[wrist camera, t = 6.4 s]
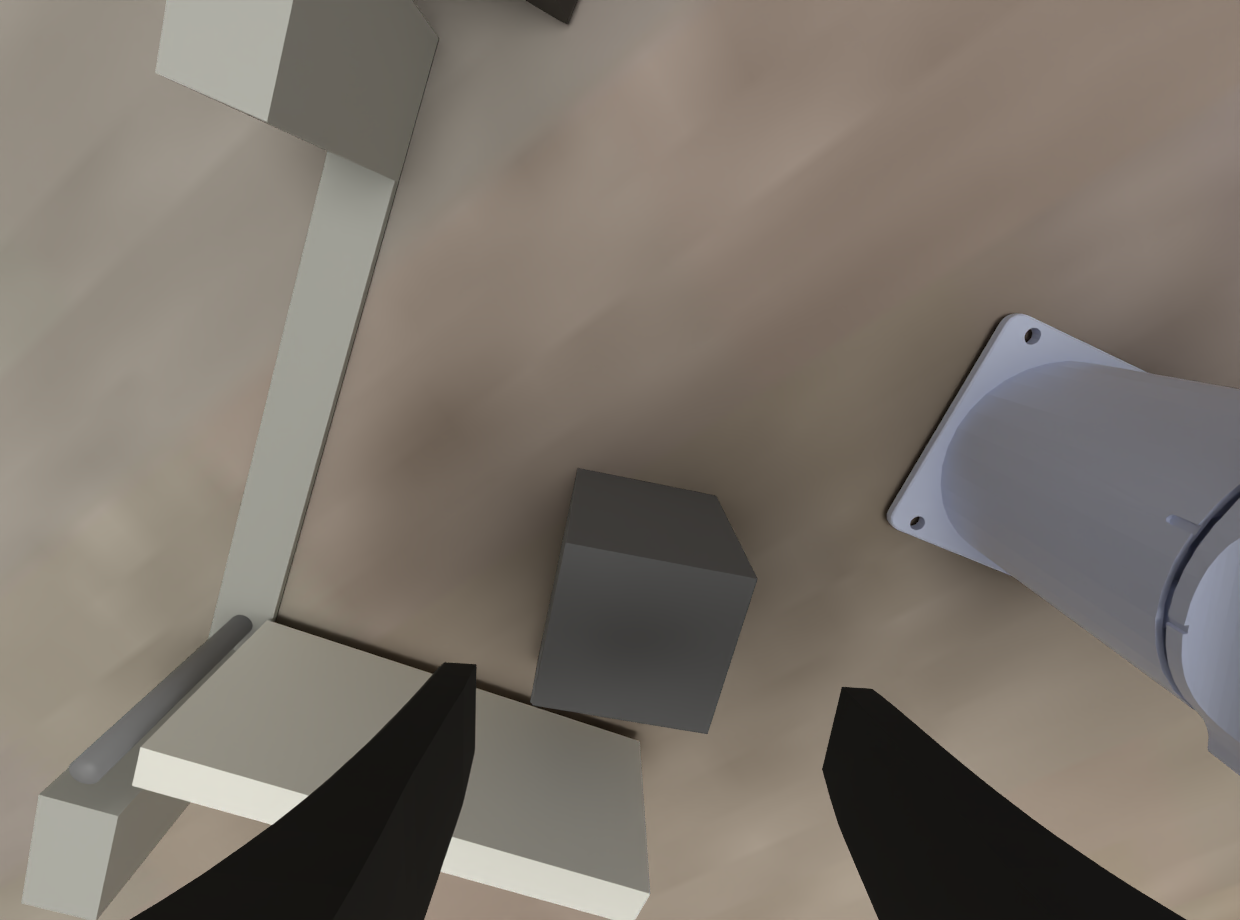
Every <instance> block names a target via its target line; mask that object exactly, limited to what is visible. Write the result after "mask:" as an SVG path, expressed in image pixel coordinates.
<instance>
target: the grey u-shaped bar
mask: <svg viewBox="0 0 1240 920" xmlns="http://www.w3.org/2000/svg"><path fill="white" fill-rule="evenodd" d="M438 39H439V38H438V36H437V35H436V34H435V32H434V31H433V29H432V28H431V26H430V25H429V24H428V22H427V21H426V19H425V18H424V16H423V15H422V14H421V12H420V11H419V9H418V8H417V6H416V5H415V4H414V2H413V1H412V0H167V2H166V8H165V14H164V20H163V27H162V33H161V39H160V45H159V51H158V58H157V64H156V70H155V73H157V74H159V75H161V76H163V77H165V78H168V79H170V80H172V81H174V82H176V83H179V84H181V85H183V86H185V87H187V88H190V89H192V90H194V91H196V92H198V93H201V94H203V95H205V96H207V97H209V98H212V99H214V100H216V101H218V102H220V103H223V104H225V105H227V106H229V107H231V108H234V109H236V110H238V111H240V112H242V113H245V114H247V115H249V116H251V117H253V118H256V119H258V120H260V121H262V122H264V123H267V124H269V125H271V126H273V127H276V128H278V129H280V130H282V131H284V132H287V133H289V134H291V135H293V136H295V137H298V138H300V139H302V140H304V141H306V142H309V143H311V144H313V145H315V146H317V147H320V148H322V149H324V150H326V151H327V156H326V160H325V164H324V168H323V172H322V176H321V180H320V184H319V188H318V192H317V196H316V201H315V205H314V209H313V213H312V217H311V221H310V225H309V229H308V233H307V237H306V241H305V245H304V250H303V254H302V258H301V262H300V266H299V270H298V274H297V278H296V282H295V286H294V290H293V295H292V299H291V303H290V307H289V311H288V315H287V319H286V323H285V327H284V331H283V335H282V339H281V344H280V348H279V352H278V356H277V360H276V364H275V368H274V372H273V376H272V380H271V384H270V389H269V393H268V397H267V401H266V405H265V409H264V413H263V417H262V421H261V425H260V429H259V434H258V438H257V442H256V446H255V450H254V454H253V458H252V462H251V466H250V470H249V474H248V478H247V483H246V487H245V491H244V495H243V499H242V503H241V507H240V511H239V515H238V519H237V523H236V528H235V532H234V536H233V540H232V544H231V548H230V552H229V556H228V560H227V564H226V568H225V572H224V577H223V581H222V585H221V589H220V593H219V597H218V601H217V605H216V609H215V613H214V617H213V622H212V626H211V630H210V634H209V638H208V640H207V641H206V642H205V643H204V644H203V645H201V646H200V647H199V648H198V649H197V650H196V651H195V652H194V653H193V654H192V655H190V656H189V657H188V658H187V659H186V660H185V661H184V662H183V663H182V664H180V665H179V666H178V667H177V668H176V669H175V670H174V671H173V672H172V673H170V674H169V675H168V676H167V677H166V678H165V679H164V680H163V681H162V682H161V683H159V684H158V685H157V686H156V687H155V688H154V689H153V690H152V691H151V692H149V693H148V694H147V695H146V696H145V697H144V698H143V699H142V700H141V701H140V702H138V703H137V704H136V705H135V706H134V707H133V708H132V709H131V710H130V711H128V712H127V713H126V714H125V715H124V716H123V717H122V718H121V719H120V720H118V721H117V722H116V723H115V724H114V725H113V726H112V727H111V728H110V729H109V730H107V731H106V732H105V733H104V734H103V735H102V736H101V737H100V738H99V739H97V740H96V741H95V742H94V743H93V744H92V745H91V746H90V747H89V748H87V749H86V750H85V751H84V752H83V753H82V754H81V755H80V756H79V757H78V758H76V759H75V760H74V761H73V762H72V763H71V764H70V766H69V768H68V769H67V770H66V771H64V772H63V773H62V774H61V775H60V776H59V777H58V778H57V779H56V780H55V781H53V782H52V783H51V784H50V785H49V786H48V787H47V788H46V789H45V790H44V791H42V792H41V793H40V794H39V797H38V803H37V810H36V816H35V822H34V828H33V834H32V841H31V847H30V853H29V859H28V866H27V872H26V878H25V884H24V890H23V897H22V904H26V905H31V906H35V907H39V908H43V909H47V910H51V911H55V912H59V913H63V914H67V915H71V916H75V917H79V918H83V919H87V920H97V919H98V918H99V917H100V915H101V914H102V913H103V912H104V910H105V909H106V908H107V907H108V905H109V904H110V903H111V902H112V900H113V899H114V898H115V897H116V895H117V894H118V893H119V891H120V890H121V889H122V888H123V886H124V885H125V884H126V883H127V881H128V880H129V879H130V878H131V876H132V875H133V874H134V873H135V871H136V870H137V869H138V868H139V866H140V865H141V864H142V863H143V861H144V860H145V859H146V858H147V856H148V855H149V854H150V853H151V851H152V850H153V849H154V848H155V846H156V845H157V844H158V843H159V841H160V840H161V839H162V837H163V836H164V835H165V834H166V832H167V831H168V830H169V829H170V827H171V826H172V825H173V824H174V822H175V821H176V820H177V819H178V817H179V816H180V815H181V814H182V812H183V811H184V810H185V809H186V807H187V806H188V805H189V804H190V802H189V801H185V800H182V799H178V798H174V797H171V796H167V795H164V794H160V793H156V792H153V791H149V790H146V789H142V788H138V787H135V786H132V783H133V779H134V774H135V770H136V765H137V761H138V756H139V751H140V747H141V746H142V745H143V744H144V743H145V742H146V741H147V740H148V739H149V738H150V737H151V736H152V735H153V734H154V733H155V732H156V731H157V730H158V729H159V728H160V727H161V726H162V725H163V724H164V723H165V722H166V721H167V720H168V719H169V718H170V717H171V716H172V715H173V714H174V713H175V712H176V711H177V710H178V709H179V708H180V707H181V706H182V705H183V704H184V703H185V702H186V701H187V700H188V699H189V698H190V697H191V696H192V695H193V694H194V693H195V692H196V691H197V690H198V689H199V688H200V687H201V686H202V685H203V684H204V683H205V682H206V681H207V680H208V679H209V678H210V677H211V676H212V675H213V674H214V673H215V672H216V671H217V670H218V669H219V668H220V667H221V666H222V665H223V664H224V663H225V662H226V661H227V660H228V659H229V658H230V657H231V656H232V655H233V654H234V653H235V652H236V651H237V650H238V649H239V648H240V647H241V646H242V645H243V644H244V643H245V642H246V641H247V640H248V639H249V638H250V637H251V636H252V635H253V634H254V633H255V632H256V631H257V630H258V629H259V628H260V627H261V626H262V625H263V624H264V623H265V622H266V621H267V620H269V621H272V622H275V620H276V617H277V613H278V609H279V606H280V602H281V599H282V595H283V592H284V588H285V584H286V581H287V577H288V574H289V570H290V567H291V563H292V559H293V556H294V552H295V549H296V545H297V542H298V538H299V535H300V531H301V527H302V524H303V520H304V517H305V513H306V510H307V506H308V502H309V499H310V495H311V492H312V488H313V485H314V481H315V478H316V474H317V470H318V467H319V463H320V460H321V456H322V453H323V449H324V445H325V442H326V438H327V435H328V431H329V428H330V424H331V421H332V417H333V413H334V410H335V406H336V403H337V399H338V396H339V392H340V388H341V385H342V381H343V378H344V374H345V371H346V367H347V364H348V360H349V356H350V353H351V349H352V346H353V342H354V339H355V335H356V331H357V328H358V324H359V321H360V317H361V314H362V310H363V306H364V303H365V299H366V296H367V292H368V289H369V285H370V282H371V278H372V274H373V271H374V267H375V264H376V260H377V257H378V253H379V249H380V246H381V242H382V239H383V235H384V232H385V228H386V225H387V221H388V217H389V214H390V210H391V207H392V203H393V200H394V196H395V192H396V189H397V185H398V182H399V178H400V175H401V171H402V168H403V164H404V160H405V157H406V153H407V150H408V146H409V143H410V139H411V135H412V132H413V128H414V125H415V121H416V118H417V114H418V111H419V107H420V103H421V100H422V96H423V93H424V89H425V86H426V82H427V78H428V75H429V71H430V68H431V64H432V61H433V57H434V53H435V50H436V46H437V43H438Z"/></svg>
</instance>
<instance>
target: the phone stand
mask: <svg viewBox="0 0 1240 920" xmlns="http://www.w3.org/2000/svg"><path fill="white" fill-rule="evenodd" d="M526 1H528V2H529V3H531V4H533V5H534V6H536V7H538V8H539V9H541V10H543V11H544V12H546V13H548V14H549V15H551V16H553V17H555V18H556V19H558V20H560V21H562V22H565V23H568V22H569V19H570V17H571V14H572V12H573V9H574V7H575V5H576V2H577V0H526Z"/></svg>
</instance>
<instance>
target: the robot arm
mask: <svg viewBox="0 0 1240 920" xmlns="http://www.w3.org/2000/svg"><path fill="white" fill-rule="evenodd" d="M1029 329H1031V330H1032V337H1031V339H1030V340H1029V341H1028V342H1025V339H1024V336H1025V333H1026V332H1027V331H1028V330H1029ZM917 516H919V521H918V522H917V523H916V524H915V525H912V526H911V525H910V522H911V520H912V519H913V518H914V517H917ZM887 520H888V522H889V524H890V525H892V526H893V527H894V528H895V529H897V530H899V531H902V532H904V533H907V534H909V535H911V536H914V537H916V538H919V539H921V540H924V541H926V542H929V543H931V544H934V545H936V546H939V547H941V548H944V549H946V550H949V551H951V552H953V553H956V554H958V555H961V556H963V557H966V558H968V559H971V560H973V561H976V562H978V563H981V564H983V565H986V566H988V567H991V568H993V569H995V570H998V571H1000V572H1003V573H1005V574H1008V575H1010V576H1013V577H1014V578H1016V579H1017V580H1018V581H1020V582H1021V583H1022V584H1024V585H1025V586H1026V587H1028V588H1029V589H1031V590H1032V591H1033V592H1035V593H1036V594H1037V595H1039V596H1040V597H1041V598H1043V599H1044V600H1046V601H1047V602H1048V603H1050V604H1051V605H1052V606H1054V607H1055V608H1056V609H1058V610H1059V611H1060V612H1062V613H1063V614H1065V615H1066V616H1067V617H1069V618H1070V619H1071V620H1073V621H1074V622H1075V623H1077V624H1078V625H1079V626H1081V627H1082V628H1084V629H1085V630H1086V631H1088V632H1089V633H1090V634H1092V635H1093V636H1094V637H1096V638H1097V639H1099V640H1100V641H1101V642H1103V643H1104V644H1105V645H1107V646H1108V647H1109V648H1111V649H1112V650H1113V651H1115V652H1116V653H1118V654H1119V655H1120V656H1122V657H1123V658H1124V659H1126V660H1127V661H1128V662H1130V663H1131V664H1132V665H1134V666H1135V667H1137V668H1138V669H1139V670H1141V671H1142V672H1143V673H1145V674H1146V675H1147V676H1149V677H1150V678H1152V679H1153V680H1154V681H1156V682H1157V683H1158V684H1160V685H1161V686H1162V687H1164V688H1165V689H1166V690H1168V691H1169V692H1171V693H1172V694H1173V695H1175V696H1176V697H1177V698H1179V699H1180V700H1181V701H1183V702H1184V703H1186V704H1187V705H1188V706H1190V707H1191V708H1192V709H1194V710H1196V711H1197V712H1198V714H1199V715H1200V716H1201V717H1202V718H1203V720H1204V721H1205V724H1206V726H1207V730H1208V734H1209V739H1208V751H1209V752H1210V753H1212V754H1213V755H1214V756H1215V757H1217V758H1218V759H1219V760H1220V761H1222V762H1223V763H1224V764H1226V765H1227V766H1228V767H1229V768H1231V769H1232V770H1233V771H1234V772H1236V773H1237V774H1238V775H1240V389H1237V388H1232V387H1226V386H1220V385H1214V384H1209V383H1203V382H1197V381H1192V380H1186V379H1180V378H1174V377H1169V376H1163V375H1157V374H1152V373H1148V372H1145V371H1143V370H1141V369H1139V368H1137V367H1135V366H1133V365H1131V364H1129V363H1127V362H1125V361H1122V360H1120V359H1118V358H1116V357H1114V356H1112V355H1110V354H1108V353H1106V352H1104V351H1102V350H1100V349H1097V348H1095V347H1093V346H1091V345H1089V344H1087V343H1085V342H1083V341H1081V340H1079V339H1077V338H1074V337H1072V336H1070V335H1068V334H1066V333H1064V332H1062V331H1060V330H1058V329H1056V328H1054V327H1052V326H1049V325H1047V324H1045V323H1043V322H1041V321H1039V320H1037V319H1035V318H1033V317H1031V316H1029V315H1025V314H1018V313H1014V314H1009V315H1008V316H1006V317H1004V318H1003V319H1002V321H1001V322H1000V323H999V325H998V326H997V328H996V330H995V331H994V333H993V335H992V336H991V338H990V340H989V342H988V343H987V345H986V347H985V348H984V350H983V352H982V353H981V355H980V357H979V358H978V360H977V362H976V363H975V365H974V367H973V368H972V370H971V372H970V373H969V375H968V377H967V378H966V380H965V382H964V384H963V385H962V387H961V389H960V390H959V392H958V394H957V395H956V397H955V399H954V400H953V402H952V404H951V405H950V407H949V409H948V410H947V412H946V414H945V415H944V417H943V419H942V421H941V422H940V424H939V426H938V427H937V429H936V431H935V432H934V434H933V436H932V437H931V439H930V441H929V442H928V444H927V446H926V447H925V449H924V451H923V452H922V454H921V456H920V458H919V459H918V461H917V463H916V464H915V466H914V468H913V469H912V471H911V473H910V474H909V476H908V478H907V479H906V481H905V483H904V484H903V486H902V488H901V489H900V491H899V493H898V494H897V496H896V498H895V500H894V501H893V503H892V505H891V506H890V508H889V510H888V512H887ZM475 727H476V664H460V663H444V664H442V665H441V666H440V667H439V668H438V669H437V670H436V671H435V672H434V673H433V674H432V676H431V677H430V678H429V679H428V680H427V681H426V682H425V683H424V685H423V686H422V687H421V688H420V689H419V690H418V691H417V692H416V693H415V695H414V696H413V697H412V698H411V699H410V700H409V701H408V702H407V703H406V704H405V705H404V706H403V707H402V708H401V710H400V711H399V712H398V713H397V714H396V715H395V716H394V717H393V718H392V719H391V720H390V721H389V722H388V723H387V724H386V725H385V726H384V727H383V728H382V729H381V730H380V731H379V732H378V733H377V734H376V735H375V736H374V737H373V738H372V739H371V740H370V741H369V742H368V743H367V744H366V745H365V746H364V747H363V748H361V749H360V750H359V751H358V752H357V753H356V754H355V755H354V756H353V757H352V758H351V759H349V760H348V761H347V762H346V763H345V764H344V765H343V766H342V767H341V768H340V769H339V770H338V771H336V772H335V773H334V774H333V775H332V776H331V777H330V778H329V779H328V780H326V781H325V782H324V783H323V784H322V785H321V786H319V787H318V788H317V789H316V790H315V791H314V792H312V793H311V794H310V795H309V796H308V797H306V798H305V799H304V800H303V801H302V802H300V803H299V804H298V805H297V806H295V807H294V808H293V809H291V810H290V811H289V812H288V813H286V814H285V815H284V816H283V817H281V818H280V819H279V820H278V821H276V822H275V823H274V824H272V825H271V826H270V827H268V828H267V829H266V830H264V831H263V832H262V833H260V834H259V835H257V836H256V837H255V838H253V839H252V840H251V841H249V842H248V843H247V844H245V845H244V846H242V847H241V848H239V849H238V850H237V851H235V852H234V853H232V854H231V855H230V856H228V857H227V858H225V859H224V860H222V861H221V862H220V863H218V864H217V865H215V866H214V867H212V868H211V869H210V870H208V871H207V872H205V873H204V874H202V875H201V876H199V877H198V878H196V879H194V880H193V881H191V882H190V883H188V884H187V885H185V886H184V887H182V888H180V889H179V890H177V891H176V892H174V893H173V894H171V895H169V896H168V897H166V898H165V899H163V900H161V901H160V902H158V903H157V904H155V905H153V906H152V907H150V908H148V909H147V910H145V911H143V912H142V913H140V914H138V915H137V916H135V917H133V918H132V919H130V920H424V918H425V915H426V912H427V909H428V906H429V903H430V901H431V898H432V895H433V892H434V889H435V886H436V883H437V880H438V877H439V874H440V871H441V868H442V865H443V862H444V859H445V856H446V854H447V851H448V848H449V845H450V842H451V839H452V836H453V833H454V830H455V827H456V824H457V821H458V818H459V815H460V812H461V809H462V806H463V802H464V797H465V793H466V789H467V785H468V780H469V776H470V771H471V767H472V762H473V758H474V753H475ZM822 770H823V774H824V777H825V781H826V784H827V788H828V792H829V795H830V799H831V802H832V805H833V809H834V812H835V815H836V818H837V821H838V824H839V827H840V829H841V832H842V834H843V837H844V839H845V842H846V844H847V846H848V849H849V851H850V853H851V856H852V858H853V861H854V863H855V865H856V868H857V870H858V872H859V875H860V877H861V879H862V882H863V884H864V886H865V889H866V891H867V893H868V896H869V898H870V900H871V903H872V905H873V907H874V910H875V912H876V914H877V917H878V919H879V920H1186V919H1184V918H1183V917H1181V916H1179V915H1178V914H1176V913H1174V912H1173V911H1171V910H1170V909H1168V908H1166V907H1165V906H1163V905H1161V904H1160V903H1158V902H1156V901H1155V900H1153V899H1152V898H1150V897H1148V896H1147V895H1145V894H1143V893H1142V892H1140V891H1138V890H1137V889H1135V888H1133V887H1132V886H1130V885H1129V884H1127V883H1126V882H1124V881H1123V880H1121V879H1119V878H1118V877H1116V876H1115V875H1113V874H1112V873H1110V872H1109V871H1107V870H1105V869H1104V868H1102V867H1101V866H1099V865H1098V864H1097V863H1095V862H1094V861H1092V860H1091V859H1089V858H1088V857H1086V856H1085V855H1083V854H1082V853H1080V852H1079V851H1077V850H1076V849H1075V848H1073V847H1072V846H1070V845H1069V844H1067V843H1066V842H1064V841H1063V840H1061V839H1060V838H1058V837H1057V836H1056V835H1054V834H1053V833H1051V832H1050V831H1049V830H1047V829H1046V828H1044V827H1043V826H1042V825H1040V824H1039V823H1038V822H1036V821H1035V820H1033V819H1032V818H1031V817H1030V816H1028V815H1027V814H1026V813H1024V812H1023V811H1022V810H1020V809H1019V808H1018V807H1016V806H1015V805H1014V804H1012V803H1011V802H1010V801H1009V800H1007V799H1006V798H1005V797H1003V796H1002V795H1001V794H999V793H998V792H997V791H995V790H994V789H993V788H992V787H990V786H989V785H988V784H987V783H985V782H984V781H983V780H982V779H980V778H979V777H978V776H977V775H975V774H974V773H973V772H972V771H971V770H969V769H968V768H967V767H966V766H964V765H963V764H962V763H961V762H960V761H958V760H957V759H956V758H955V757H954V756H952V755H951V754H950V753H949V752H948V751H946V750H945V749H944V748H943V747H942V746H940V745H939V744H938V743H937V742H936V741H935V740H933V739H932V738H931V737H930V736H929V735H927V734H926V733H925V732H924V731H923V730H922V729H920V728H919V727H918V726H917V725H916V724H915V723H913V722H912V721H911V720H910V719H909V718H907V717H906V716H905V715H904V714H903V713H902V712H900V711H899V710H898V709H897V708H896V707H894V706H893V705H892V704H891V703H890V702H888V701H887V700H886V699H885V698H883V697H882V696H881V695H880V694H878V693H877V692H876V691H874V690H873V689H866V688H849V687H842V689H841V693H840V697H839V702H838V706H837V710H836V714H835V718H834V722H833V727H832V731H831V735H830V739H829V743H828V747H827V752H826V756H825V760H824V764H823V768H822Z"/></svg>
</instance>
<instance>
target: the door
mask: <svg viewBox="0 0 1240 920" xmlns="http://www.w3.org/2000/svg"><path fill="white" fill-rule="evenodd" d="M431 676H432V673H429V672H425V671H422V670H419V669H416V668H413V667H410V666H407V665H404V664H401V663H398V662H395V661H392V660H389V659H385V658H382V657H379V656H376V655H373V654H370V653H367V652H364V651H361V650H358V649H355V648H352V647H349V646H346V645H342V644H339V643H336V642H333V641H330V640H327V639H324V638H321V637H318V636H315V635H312V634H309V633H306V632H302V631H299V630H296V629H293V628H290V627H287V626H284V625H281V624H278V623H275V622H272V621H269V620H267V621H266V622H265V623H264V624H263V625H262V626H261V627H260V628H259V629H258V630H257V631H256V632H255V633H254V634H253V635H252V636H251V637H250V638H249V639H248V640H247V641H246V642H245V643H244V644H243V645H242V646H241V647H240V648H239V649H238V650H237V651H236V652H235V653H234V654H233V655H232V656H231V657H230V658H229V659H228V660H227V661H226V662H225V663H224V664H223V665H222V666H221V667H220V668H219V669H218V670H217V671H216V672H215V673H214V674H213V675H212V676H211V677H210V678H209V679H208V680H207V681H206V682H205V683H204V684H203V685H202V686H201V687H200V688H199V689H198V690H197V691H196V692H195V693H194V694H193V695H192V696H191V697H190V698H189V699H188V700H187V701H186V702H185V703H184V704H183V705H182V706H181V707H180V708H179V709H178V710H177V711H176V712H175V713H174V714H173V715H172V716H171V717H170V718H169V719H168V720H167V721H166V722H165V723H164V724H163V725H162V726H161V727H160V728H159V729H158V730H157V731H156V732H155V733H154V734H153V735H152V736H151V737H150V738H149V739H148V740H147V741H146V742H145V743H144V744H143V745H142V746H141V747H140V751H139V756H138V761H137V765H136V770H135V774H134V779H133V783H132V786H135V787H138V788H142V789H146V790H149V791H153V792H156V793H160V794H164V795H167V796H171V797H174V798H178V799H182V800H185V801H189V802H192V803H196V804H199V805H203V806H207V807H210V808H214V809H217V810H221V811H225V812H228V813H232V814H235V815H239V816H243V817H246V818H250V819H253V820H257V821H260V822H264V823H268V824H271V825H272V824H274V823H275V822H276V821H278V820H279V819H280V818H281V817H283V816H284V815H285V814H286V813H288V812H289V811H290V810H291V809H293V808H294V807H295V806H297V805H298V804H299V803H300V802H302V801H303V800H304V799H305V798H306V797H308V796H309V795H310V794H311V793H312V792H314V791H315V790H316V789H317V788H318V787H319V786H321V785H322V784H323V783H324V782H325V781H326V780H328V779H329V778H330V777H331V776H332V775H333V774H334V773H335V772H336V771H338V770H339V769H340V768H341V767H342V766H343V765H344V764H345V763H346V762H347V761H348V760H349V759H351V758H352V757H353V756H354V755H355V754H356V753H357V752H358V751H359V750H360V749H361V748H363V747H364V746H365V745H366V744H367V743H368V742H369V741H370V740H371V739H372V738H373V737H374V736H375V735H376V734H377V733H378V732H379V731H380V730H381V729H382V728H383V727H384V726H385V725H386V724H387V723H388V722H389V721H390V720H391V719H392V718H393V717H394V716H395V715H396V714H397V713H398V712H399V711H400V710H401V708H402V707H403V706H404V705H405V704H406V703H407V702H408V701H409V700H410V699H411V698H412V697H413V696H414V695H415V693H416V692H417V691H418V690H419V689H420V688H421V687H422V686H423V685H424V683H425V682H426V681H427V680H428V679H429V678H430V677H431ZM440 872H444V873H447V874H451V875H454V876H458V877H462V878H465V879H469V880H472V881H476V882H479V883H483V884H487V885H490V886H494V887H497V888H501V889H505V890H508V891H512V892H515V893H519V894H523V895H526V896H530V897H533V898H537V899H541V900H544V901H548V902H551V903H555V904H558V905H562V906H566V907H569V908H573V909H576V910H580V911H584V912H587V913H591V914H594V915H598V916H602V917H605V918H609V919H612V920H635V919H636V917H637V916H638V914H639V912H640V910H641V909H642V907H643V905H644V904H645V902H646V900H647V899H648V897H649V895H650V883H649V868H648V854H647V839H646V825H645V810H644V796H643V782H642V767H641V753H640V741H638V740H634V739H631V738H628V737H625V736H622V735H619V734H616V733H613V732H610V731H607V730H604V729H601V728H598V727H595V726H591V725H588V724H585V723H582V722H579V721H576V720H573V719H570V718H567V717H564V716H561V715H558V714H555V713H551V712H548V711H545V710H542V709H539V708H536V707H533V706H530V705H527V704H524V703H521V702H518V701H515V700H512V699H508V698H505V697H502V696H499V695H496V694H493V693H490V692H487V691H484V690H481V689H478V688H476V727H475V753H474V758H473V762H472V767H471V771H470V776H469V780H468V785H467V789H466V793H465V797H464V802H463V806H462V809H461V812H460V815H459V818H458V821H457V824H456V827H455V830H454V833H453V836H452V839H451V842H450V845H449V848H448V851H447V854H446V856H445V859H444V862H443V865H442V868H441V871H440Z"/></svg>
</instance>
